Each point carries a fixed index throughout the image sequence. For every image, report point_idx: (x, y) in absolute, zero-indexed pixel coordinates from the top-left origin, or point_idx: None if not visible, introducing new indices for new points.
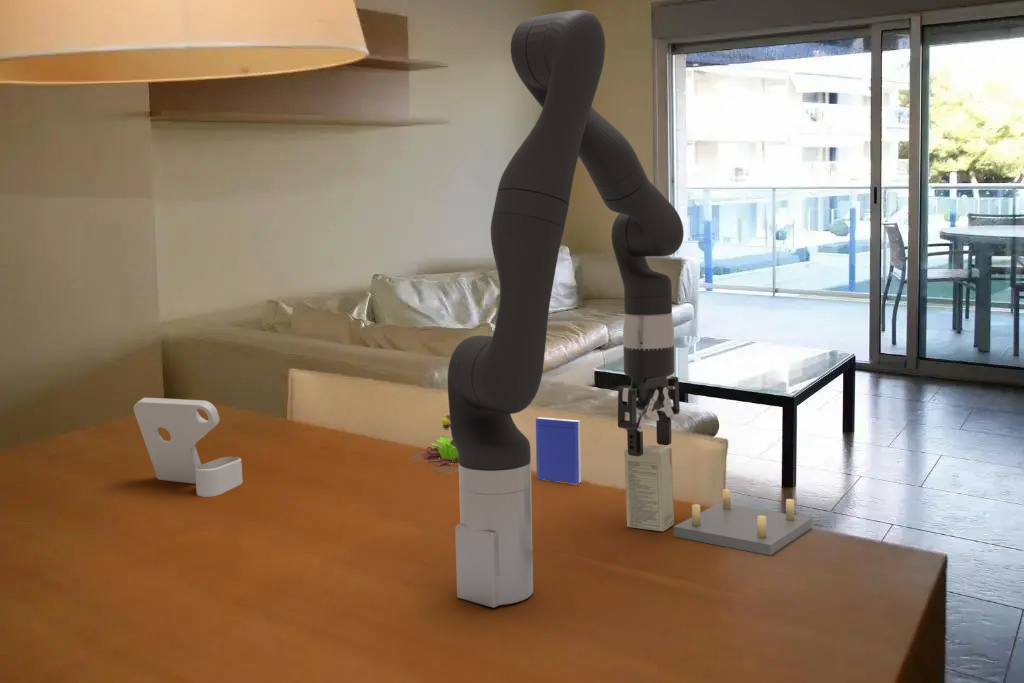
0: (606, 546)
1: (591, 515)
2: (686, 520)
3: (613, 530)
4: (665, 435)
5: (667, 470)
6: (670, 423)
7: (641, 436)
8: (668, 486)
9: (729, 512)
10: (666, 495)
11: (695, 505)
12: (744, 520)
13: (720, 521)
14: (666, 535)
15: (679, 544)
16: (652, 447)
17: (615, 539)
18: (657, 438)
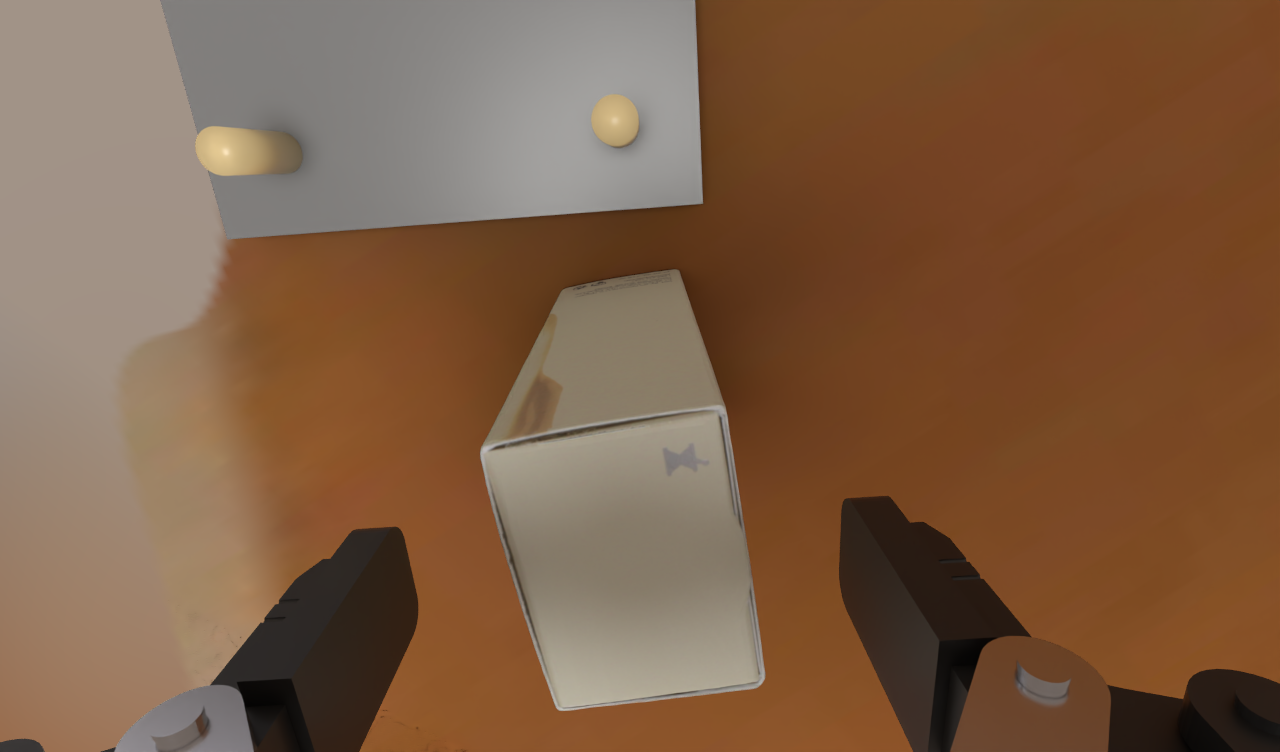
0: (964, 347)
1: None
2: (584, 207)
3: (771, 440)
4: (372, 603)
5: (609, 359)
6: (270, 661)
7: (946, 599)
8: (606, 328)
9: (325, 104)
10: (639, 310)
11: (620, 120)
12: None
13: (486, 57)
14: (701, 236)
15: (779, 117)
16: (608, 554)
17: (867, 370)
18: (401, 646)
